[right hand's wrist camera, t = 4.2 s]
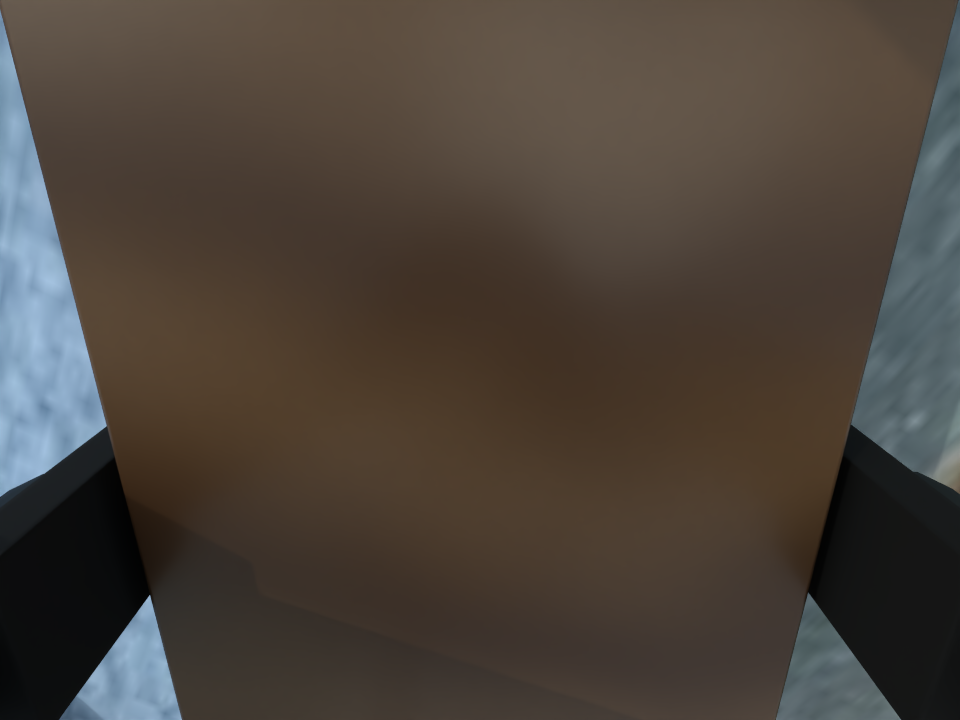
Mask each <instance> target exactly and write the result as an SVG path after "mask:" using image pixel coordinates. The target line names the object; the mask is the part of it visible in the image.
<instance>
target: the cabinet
mask: <svg viewBox="0 0 960 720" xmlns="http://www.w3.org/2000/svg"><path fill="white" fill-rule="evenodd" d="M957 4H958V0H0V10H1V14H2V18H3V22H4V26H5V29H6V33H7V37H8V41H9V45H10V49H11V53H12V57H13V61H14V65H15V69H16V72H17V76H18V80H19V84H20V88H21V92H22V96H23V100H24V104H25V108H26V112H27V115H28V119H29V123H30V127H31V131H32V135H33V139H34V143H35V147H36V151H37V155H38V158H39V162H40V166H41V170H42V174H43V178H44V182H45V186H46V190H47V194H48V198H49V201H50V205H51V209H52V213H53V217H54V221H55V225H56V229H57V233H58V237H59V241H60V244H61V248H62V252H63V256H64V260H65V264H66V268H67V272H68V276H69V280H70V284H71V287H72V291H73V295H74V299H75V303H76V307H77V311H78V315H79V319H80V323H81V326H82V330H83V334H84V338H85V342H86V346H87V350H88V354H89V358H90V362H91V366H92V369H93V373H94V377H95V381H96V385H97V389H98V393H99V397H100V401H101V405H102V409H103V412H104V416H105V420H106V424H107V428H108V432H109V436H110V440H111V444H112V448H113V452H114V455H115V459H116V463H117V467H118V471H119V475H120V479H121V483H122V487H123V491H124V495H125V498H126V502H127V506H128V510H129V514H130V518H131V522H132V526H133V530H134V534H135V538H136V541H137V545H138V549H139V553H140V557H141V561H142V565H143V569H144V573H145V577H146V581H147V584H148V588H149V592H150V596H151V600H152V604H153V608H154V612H155V616H156V620H157V624H158V627H159V631H160V635H161V639H162V643H163V647H164V651H165V655H166V659H167V663H168V667H169V670H170V674H171V678H172V682H173V686H174V690H175V694H176V698H177V702H178V706H179V710H180V713H181V717H182V720H776V717H777V713H778V709H779V705H780V701H781V697H782V693H783V689H784V685H785V681H786V677H787V673H788V669H789V665H790V661H791V657H792V654H793V650H794V646H795V642H796V638H797V634H798V630H799V626H800V622H801V618H802V614H803V610H804V606H805V602H806V598H807V594H808V590H809V587H810V583H811V579H812V575H813V571H814V567H815V563H816V559H817V555H818V551H819V547H820V543H821V539H822V535H823V531H824V527H825V524H826V520H827V516H828V512H829V508H830V504H831V500H832V496H833V492H834V488H835V484H836V480H837V476H838V472H839V468H840V464H841V461H842V457H843V453H844V449H845V445H846V441H847V437H848V433H849V429H850V425H851V421H852V417H853V413H854V409H855V405H856V401H857V397H858V394H859V390H860V386H861V382H862V378H863V374H864V370H865V366H866V362H867V358H868V354H869V350H870V346H871V342H872V338H873V334H874V331H875V327H876V323H877V319H878V315H879V311H880V307H881V303H882V299H883V295H884V291H885V287H886V283H887V279H888V275H889V271H890V268H891V264H892V260H893V256H894V252H895V248H896V244H897V240H898V236H899V232H900V228H901V224H902V220H903V216H904V212H905V208H906V204H907V201H908V197H909V193H910V189H911V185H912V181H913V177H914V173H915V169H916V165H917V161H918V157H919V153H920V149H921V145H922V141H923V138H924V134H925V130H926V126H927V122H928V118H929V114H930V110H931V106H932V102H933V98H934V94H935V90H936V86H937V82H938V78H939V75H940V71H941V67H942V63H943V59H944V55H945V51H946V47H947V43H948V39H949V35H950V31H951V27H952V23H953V19H954V15H955V11H956V8H957Z"/></svg>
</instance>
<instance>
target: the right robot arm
mask: <svg viewBox="0 0 960 720" xmlns="http://www.w3.org/2000/svg"><path fill="white" fill-rule="evenodd" d="M808 592H809V594H810V595H811V597H812V598H813V599H814V601H815V602H816V603H817V605H818V606H819V608H820V609H821V610H822V612H823V613H824V614H825V616H826V617H827V618H828V620H829V621H830V623H831V624H832V625H833V627H834V628H835V629H836V631H837V632H838V634H839V635H840V636H841V638H842V639H843V640H844V642H845V643H846V645H847V646H848V647H849V649H850V650H851V651H852V653H853V654H854V656H855V657H856V658H857V660H858V661H859V662H860V664H861V665H862V666H863V668H864V669H865V671H866V672H867V673H868V675H869V676H870V677H871V679H872V680H873V682H874V683H875V684H876V686H877V687H878V688H879V690H880V691H881V693H882V694H883V695H884V697H885V698H886V699H887V701H888V702H889V704H890V705H891V706H892V708H893V709H894V710H895V712H896V713H897V714H898V716H899V717H900V719H901V720H960V494H959V493H957V492H956V491H954V490H953V489H952V488H950V487H947V486H945V485H943V484H941V483H939V482H937V481H935V480H933V479H931V478H929V477H927V476H925V475H923V474H921V473H918V472H912V471H911V470H910V469H908V468H907V467H906V466H905V465H903V464H902V463H901V462H899V461H898V460H897V459H895V458H894V457H893V456H891V455H890V454H889V453H888V452H886V451H885V450H884V449H882V448H881V447H880V446H878V445H877V444H876V443H874V442H873V441H872V440H870V439H869V438H868V437H867V436H865V435H864V434H863V433H861V432H860V431H859V430H857V429H856V428H855V427H853V426H852V425H850V429H849V433H848V437H847V441H846V445H845V449H844V453H843V457H842V461H841V464H840V468H839V472H838V476H837V480H836V484H835V488H834V492H833V496H832V500H831V504H830V508H829V512H828V516H827V520H826V524H825V527H824V531H823V535H822V539H821V543H820V547H819V551H818V555H817V559H816V563H815V567H814V571H813V575H812V579H811V583H810V587H809V590H808ZM149 595H150V592H149V588H148V584H147V581H146V577H145V573H144V569H143V565H142V561H141V557H140V553H139V549H138V545H137V541H136V538H135V534H134V530H133V526H132V522H131V518H130V514H129V510H128V506H127V502H126V498H125V495H124V491H123V487H122V483H121V479H120V475H119V471H118V467H117V463H116V459H115V455H114V452H113V448H112V444H111V440H110V436H109V432H108V428H107V427H105V428H104V429H103V430H101V431H100V432H99V433H97V434H96V435H95V436H93V437H92V438H91V439H90V440H88V441H87V442H86V443H84V444H83V445H82V446H80V447H79V448H78V449H76V450H75V451H74V452H72V453H71V454H70V455H69V456H67V457H66V458H65V459H63V460H62V461H61V462H59V463H58V464H57V465H55V466H54V467H53V468H51V469H50V470H49V471H48V472H46V473H45V474H42V475H40V476H38V477H36V478H34V479H32V480H30V481H28V482H26V483H24V484H22V485H20V486H18V487H16V488H13V489H11V490H9V491H8V492H6V493H5V494H4V495H2V496H1V497H0V720H59V719H60V717H61V716H62V714H63V713H64V712H65V710H66V709H67V708H68V706H69V705H70V703H71V702H72V701H73V699H74V698H75V697H76V695H77V694H78V693H79V691H80V690H81V688H82V687H83V686H84V684H85V683H86V682H87V680H88V679H89V677H90V676H91V675H92V673H93V672H94V671H95V669H96V668H97V666H98V665H99V664H100V662H101V661H102V660H103V658H104V657H105V655H106V654H107V653H108V651H109V650H110V649H111V647H112V646H113V645H114V643H115V642H116V640H117V639H118V638H119V636H120V635H121V634H122V632H123V631H124V629H125V628H126V627H127V625H128V624H129V623H130V621H131V620H132V618H133V617H134V616H135V614H136V613H137V612H138V610H139V609H140V608H141V606H142V605H143V603H144V602H145V601H146V599H147V598H148V597H149Z"/></svg>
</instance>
